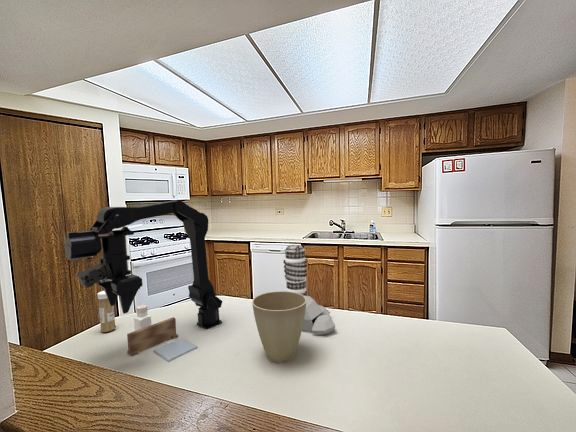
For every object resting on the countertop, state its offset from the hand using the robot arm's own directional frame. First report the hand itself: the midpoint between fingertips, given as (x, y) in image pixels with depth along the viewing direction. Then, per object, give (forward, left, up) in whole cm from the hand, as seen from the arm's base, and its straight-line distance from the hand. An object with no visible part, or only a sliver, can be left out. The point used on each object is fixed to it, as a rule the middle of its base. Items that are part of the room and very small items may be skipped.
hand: (118, 309), depth 78 cm
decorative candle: (-57, +17, -15) cm, 61 cm away
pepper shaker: (-10, -11, -15) cm, 21 cm away
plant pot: (-28, +34, -15) cm, 47 cm away
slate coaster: (-12, +7, -15) cm, 20 cm away
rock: (-48, +29, -15) cm, 58 cm away
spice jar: (-4, -25, -15) cm, 29 cm away
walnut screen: (-9, -2, -15) cm, 17 cm away
